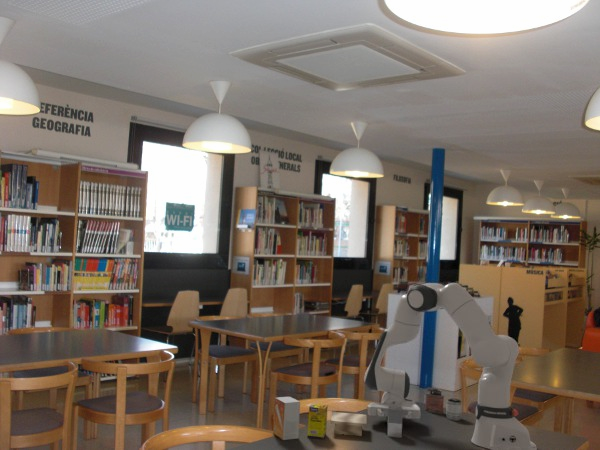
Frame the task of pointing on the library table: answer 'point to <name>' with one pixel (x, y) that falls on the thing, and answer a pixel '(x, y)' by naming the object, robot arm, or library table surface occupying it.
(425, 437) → the library table surface
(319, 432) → the supplement box
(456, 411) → the camera lens
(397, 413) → the block
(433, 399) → the lighter
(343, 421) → the birch stand
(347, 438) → the library table surface
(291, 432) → the small box
